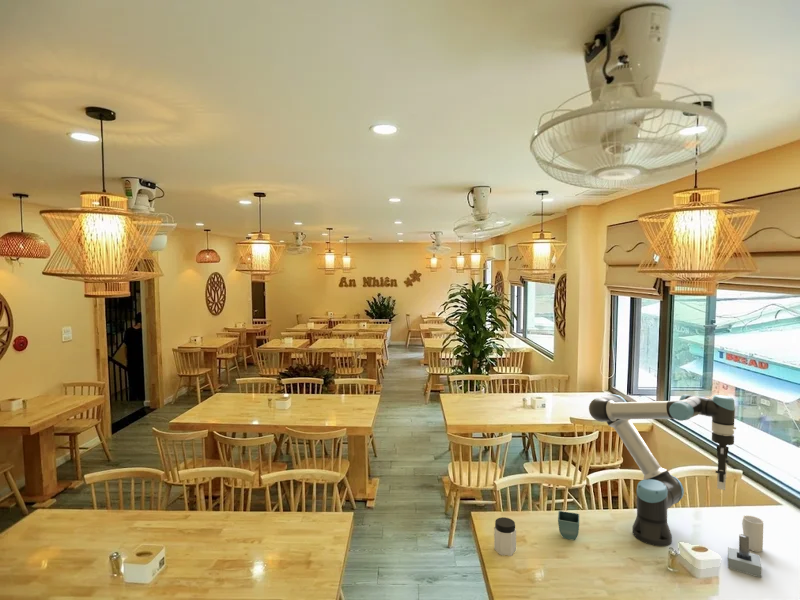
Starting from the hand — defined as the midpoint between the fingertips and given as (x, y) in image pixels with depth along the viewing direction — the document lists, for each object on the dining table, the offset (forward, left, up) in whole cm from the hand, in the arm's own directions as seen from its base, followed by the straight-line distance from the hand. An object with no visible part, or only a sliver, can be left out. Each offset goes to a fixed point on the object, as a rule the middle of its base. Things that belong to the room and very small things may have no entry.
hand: (721, 483), depth 184 cm
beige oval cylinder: (+10, +10, -28) cm, 31 cm away
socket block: (+7, -10, -28) cm, 30 cm away
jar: (-74, -53, -28) cm, 95 cm away
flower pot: (-55, -27, -28) cm, 67 cm away
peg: (+7, -10, -28) cm, 30 cm away
